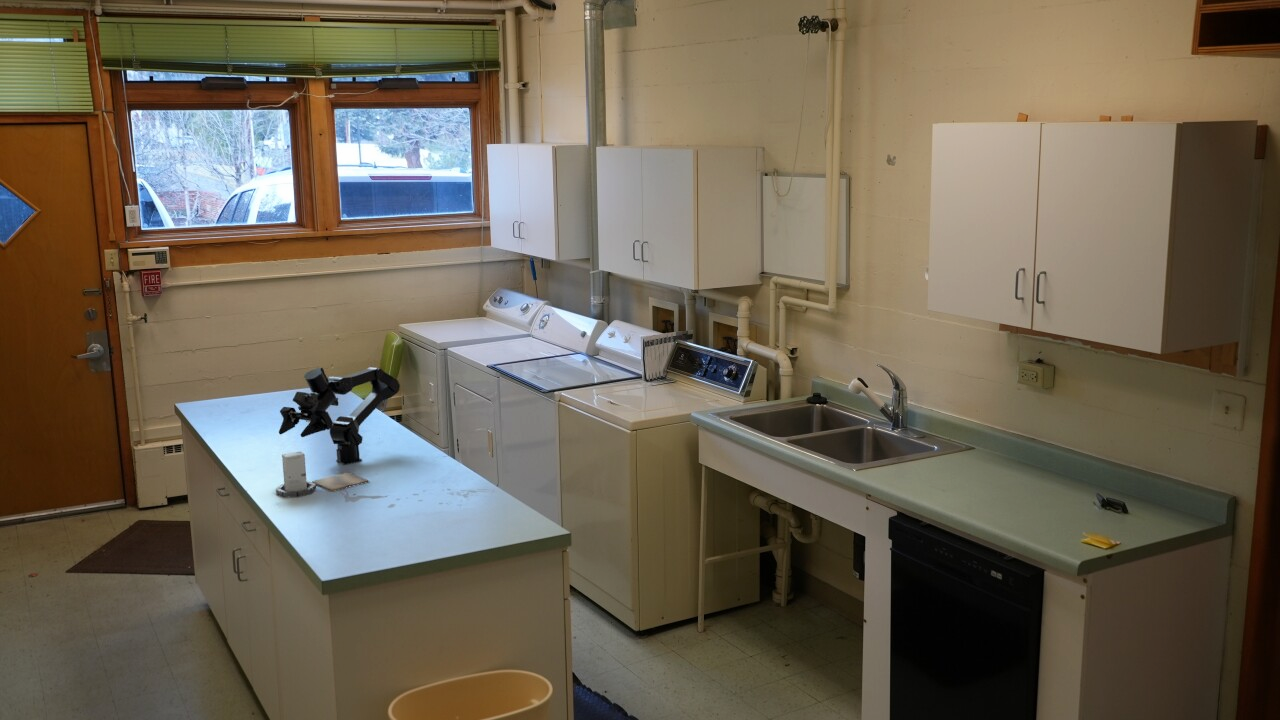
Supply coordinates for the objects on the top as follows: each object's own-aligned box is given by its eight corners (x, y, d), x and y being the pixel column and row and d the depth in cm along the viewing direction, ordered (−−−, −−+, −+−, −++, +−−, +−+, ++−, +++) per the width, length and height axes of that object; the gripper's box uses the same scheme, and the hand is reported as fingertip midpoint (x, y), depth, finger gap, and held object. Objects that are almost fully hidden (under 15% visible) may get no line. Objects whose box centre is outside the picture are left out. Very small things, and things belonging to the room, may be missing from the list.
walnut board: (348, 474, 362) (348, 472, 361) (369, 482, 352) (368, 480, 352) (311, 483, 353) (311, 481, 353) (331, 491, 344) (331, 489, 343)
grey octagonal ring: (304, 483, 352) (304, 479, 352) (321, 490, 344) (321, 486, 344) (271, 491, 345) (270, 487, 345) (287, 499, 337) (287, 494, 337)
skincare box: (288, 495, 341) (285, 457, 339) (284, 491, 345) (280, 454, 342) (308, 491, 344) (305, 453, 342) (304, 487, 348) (300, 450, 346)
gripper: (288, 382, 362) (258, 412, 351) (332, 386, 353) (302, 418, 342) (302, 408, 368) (272, 439, 357) (345, 413, 360) (316, 445, 349)
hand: (290, 434), depth 351 cm, fingers open, 9 cm apart
